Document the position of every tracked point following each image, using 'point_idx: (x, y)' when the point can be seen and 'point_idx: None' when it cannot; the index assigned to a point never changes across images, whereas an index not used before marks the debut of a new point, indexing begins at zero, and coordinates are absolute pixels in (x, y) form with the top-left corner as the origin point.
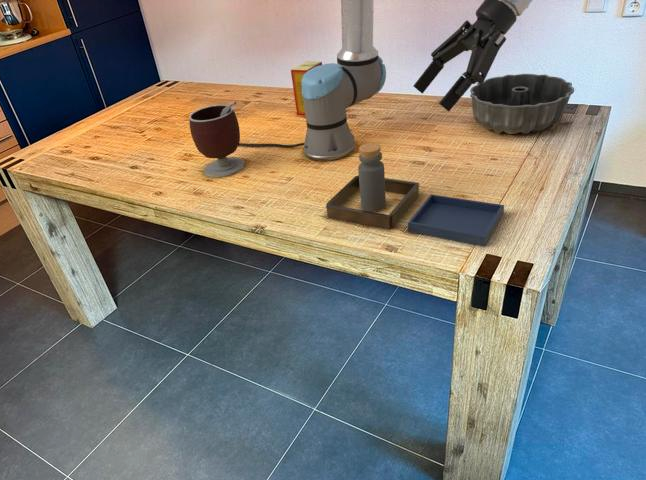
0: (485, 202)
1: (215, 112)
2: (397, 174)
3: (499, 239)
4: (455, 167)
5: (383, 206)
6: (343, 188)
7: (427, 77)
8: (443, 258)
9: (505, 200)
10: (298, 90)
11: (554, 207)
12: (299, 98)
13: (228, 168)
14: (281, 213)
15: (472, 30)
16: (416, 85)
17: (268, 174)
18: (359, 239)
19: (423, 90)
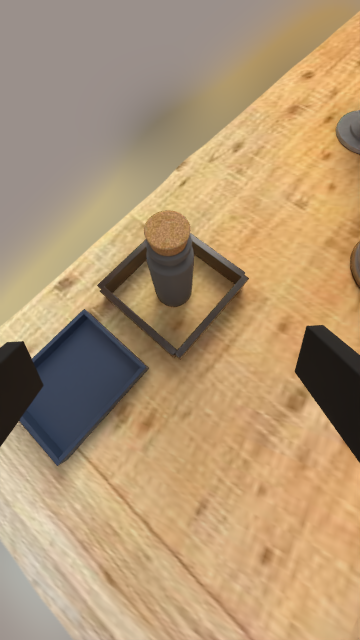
0: (79, 439)
1: None
2: (263, 351)
3: None
4: (256, 459)
5: (159, 299)
6: (208, 248)
7: (348, 399)
8: (14, 333)
9: (103, 487)
10: None
11: (43, 560)
12: None
13: (354, 133)
14: (202, 187)
15: None
16: (312, 335)
17: (326, 181)
18: (101, 256)
19: (302, 375)
